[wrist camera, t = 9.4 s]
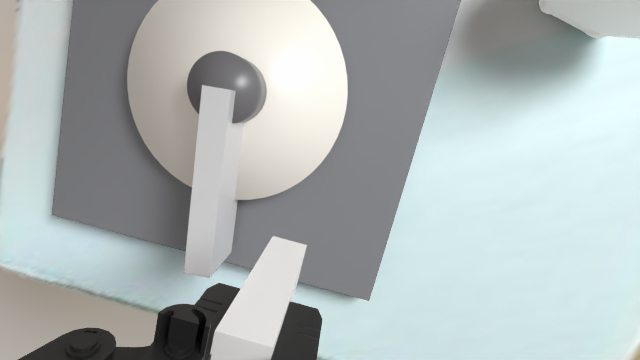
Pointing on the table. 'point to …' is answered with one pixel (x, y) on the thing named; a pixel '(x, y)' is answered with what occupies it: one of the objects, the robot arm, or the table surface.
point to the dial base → (285, 207)
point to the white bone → (598, 16)
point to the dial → (235, 104)
